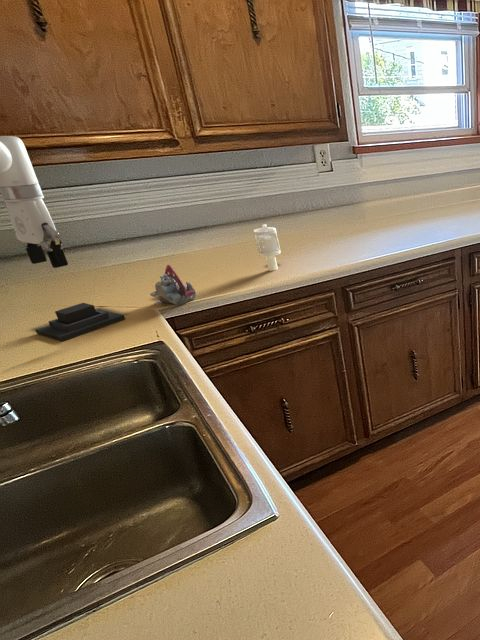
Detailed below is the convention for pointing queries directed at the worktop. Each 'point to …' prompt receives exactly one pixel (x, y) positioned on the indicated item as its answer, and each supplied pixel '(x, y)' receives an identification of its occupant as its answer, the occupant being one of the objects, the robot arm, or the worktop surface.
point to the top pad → (75, 313)
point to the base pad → (79, 325)
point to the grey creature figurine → (173, 289)
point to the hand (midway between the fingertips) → (50, 264)
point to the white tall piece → (268, 245)
